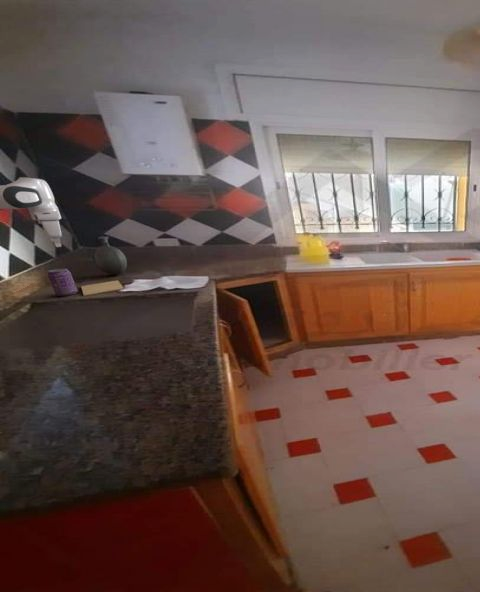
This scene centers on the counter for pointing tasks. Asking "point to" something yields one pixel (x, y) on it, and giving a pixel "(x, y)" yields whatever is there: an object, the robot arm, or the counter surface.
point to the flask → (110, 258)
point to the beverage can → (62, 282)
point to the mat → (101, 287)
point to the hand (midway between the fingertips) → (57, 245)
